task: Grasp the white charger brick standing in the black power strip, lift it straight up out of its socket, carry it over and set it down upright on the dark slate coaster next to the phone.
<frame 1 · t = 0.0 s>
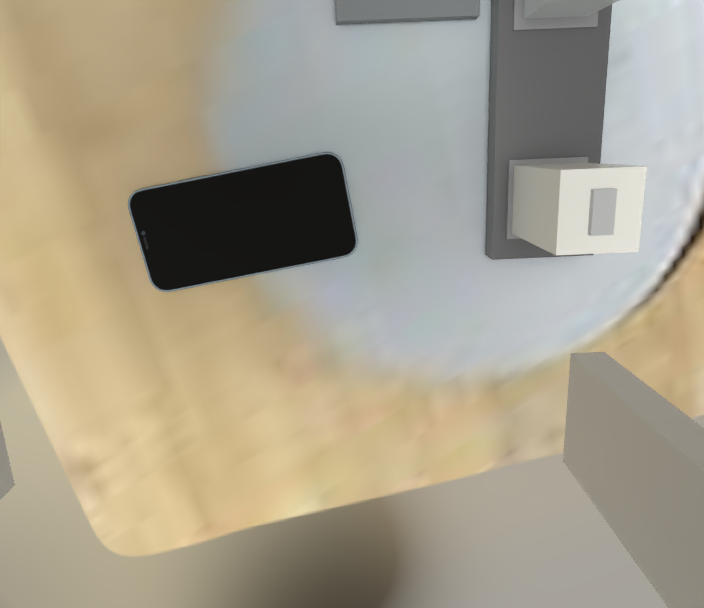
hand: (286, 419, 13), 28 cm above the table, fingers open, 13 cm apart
smartphone: (246, 222, 40), on the table
power strip: (541, 90, 38), on the table
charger: (546, 198, 37), point 2 cm above the table, touching power strip
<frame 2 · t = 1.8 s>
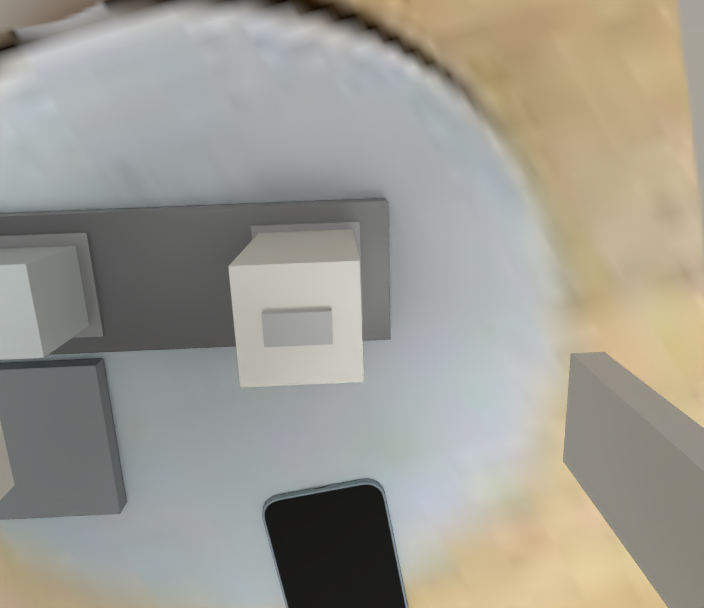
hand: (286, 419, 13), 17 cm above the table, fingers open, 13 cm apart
smartphone: (344, 583, 36), on the table
coaster: (34, 437, 32), on the table
power strip: (176, 274, 29), on the table
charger: (308, 276, 28), point 2 cm above the table, touching power strip
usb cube: (41, 288, 27), point 2 cm above the table, touching power strip
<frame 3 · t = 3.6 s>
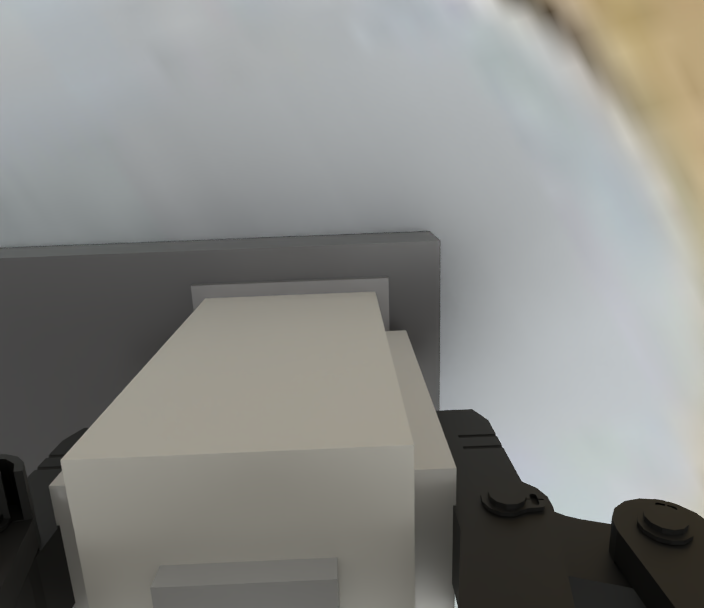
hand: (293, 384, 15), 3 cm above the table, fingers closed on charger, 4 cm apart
power strip: (73, 358, 17), on the table
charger: (295, 373, 15), point 2 cm above the table, touching gripper, power strip
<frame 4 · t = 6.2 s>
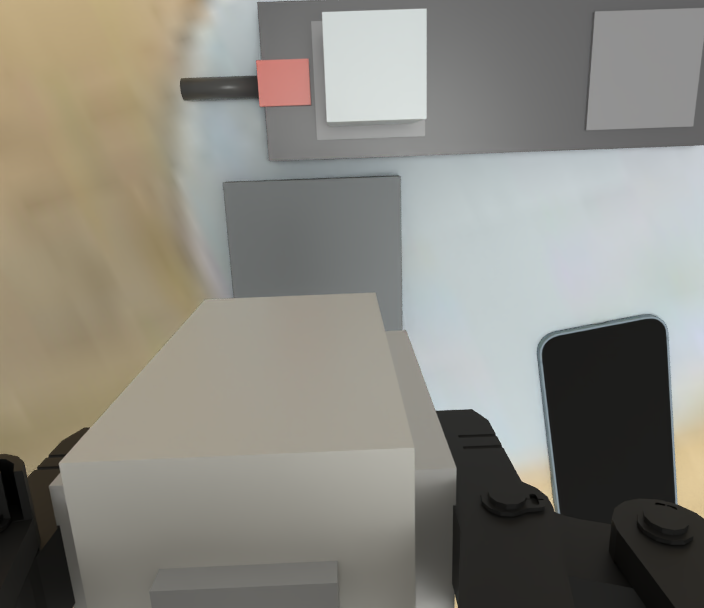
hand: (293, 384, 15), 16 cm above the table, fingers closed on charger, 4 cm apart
smartphone: (604, 434, 34), on the table
coaster: (317, 263, 31), on the table
power strip: (486, 80, 28), on the table
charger: (295, 375, 15), point 16 cm above the table, touching gripper
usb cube: (369, 80, 26), point 2 cm above the table, touching power strip
when the fingers open (3 cm above the table, at t = 8.9 s): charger drops 1 cm, resting on coaster.
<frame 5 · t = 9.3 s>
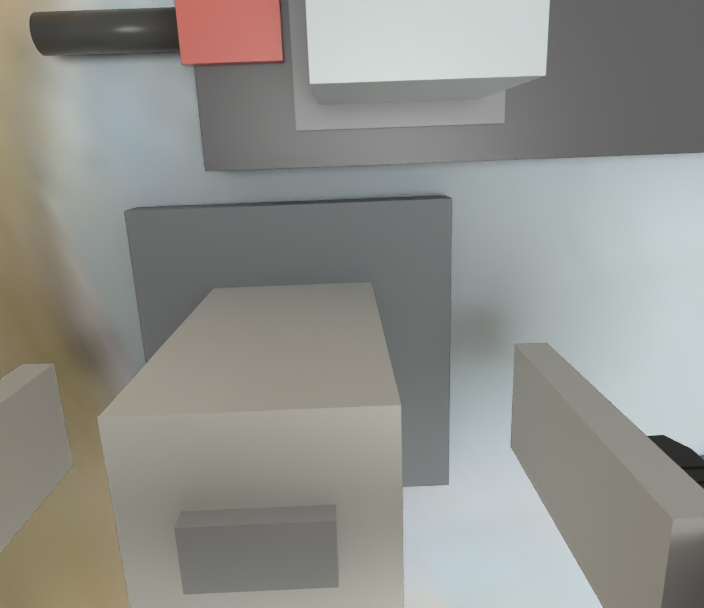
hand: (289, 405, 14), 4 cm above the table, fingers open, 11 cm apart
coaster: (300, 346, 18), on the table
power strip: (611, 21, 15), on the table
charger: (297, 358, 17), point 1 cm above the table, touching coaster
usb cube: (399, 11, 13), point 2 cm above the table, touching power strip
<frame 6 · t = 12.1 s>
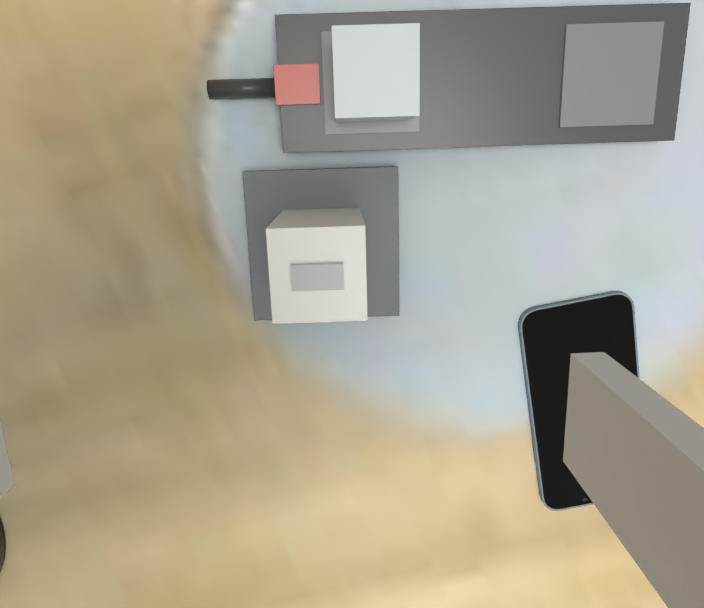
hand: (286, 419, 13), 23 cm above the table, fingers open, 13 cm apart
smartphone: (579, 400, 38), on the table
coaster: (324, 243, 35), on the table
power strip: (473, 83, 32), on the table
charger: (323, 246, 34), point 1 cm above the table, touching coaster
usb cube: (371, 82, 30), point 2 cm above the table, touching power strip
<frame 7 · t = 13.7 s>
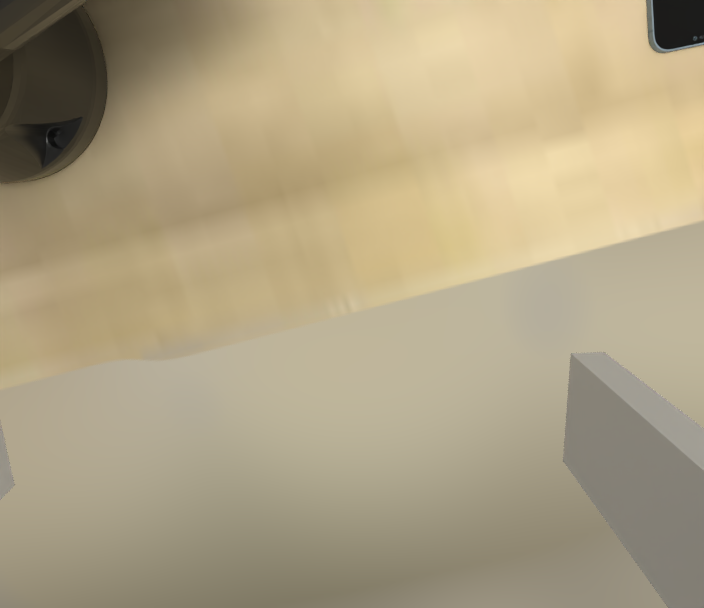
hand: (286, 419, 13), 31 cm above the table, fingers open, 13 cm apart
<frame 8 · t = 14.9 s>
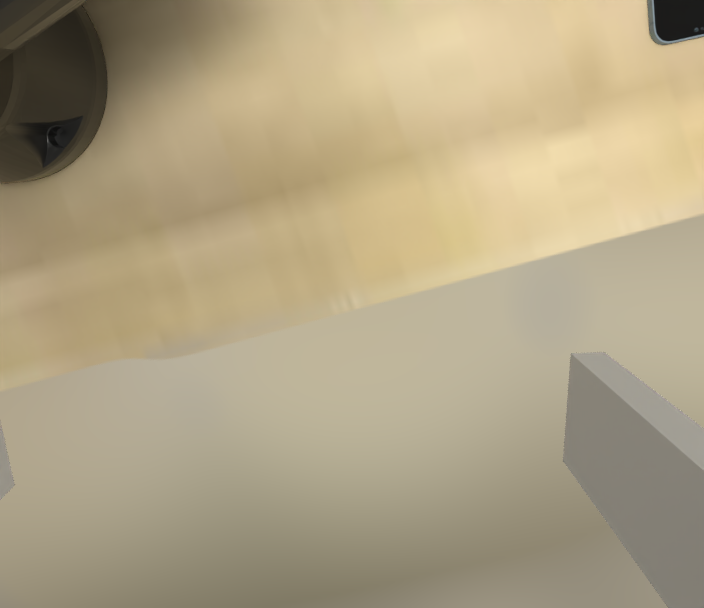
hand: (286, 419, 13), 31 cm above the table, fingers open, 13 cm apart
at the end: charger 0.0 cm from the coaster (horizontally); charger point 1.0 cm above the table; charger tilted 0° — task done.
